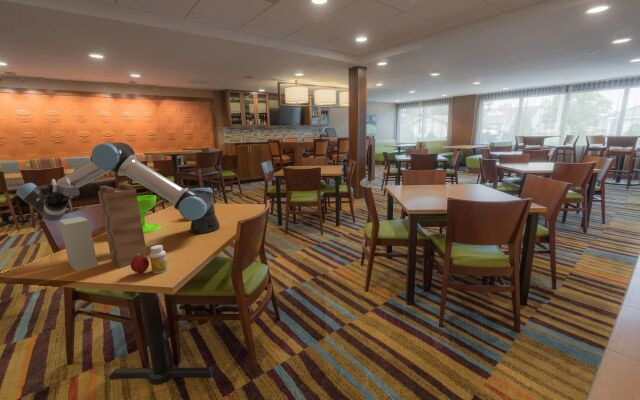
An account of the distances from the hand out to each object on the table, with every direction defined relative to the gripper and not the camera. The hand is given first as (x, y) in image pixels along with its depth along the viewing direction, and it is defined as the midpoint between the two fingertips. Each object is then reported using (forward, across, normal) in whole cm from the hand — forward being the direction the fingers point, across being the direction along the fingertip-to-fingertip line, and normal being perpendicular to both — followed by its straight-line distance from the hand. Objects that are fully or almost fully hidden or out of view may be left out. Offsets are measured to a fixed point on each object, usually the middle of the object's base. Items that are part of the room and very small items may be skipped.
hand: (61, 181), depth 115 cm
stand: (-3, -13, -38) cm, 40 cm away
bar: (+1, 0, -5) cm, 5 cm away
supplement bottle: (+15, -16, -48) cm, 53 cm away
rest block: (-13, 0, -32) cm, 34 cm away
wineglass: (-39, -35, -18) cm, 55 cm away
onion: (+12, -11, -46) cm, 49 cm away
